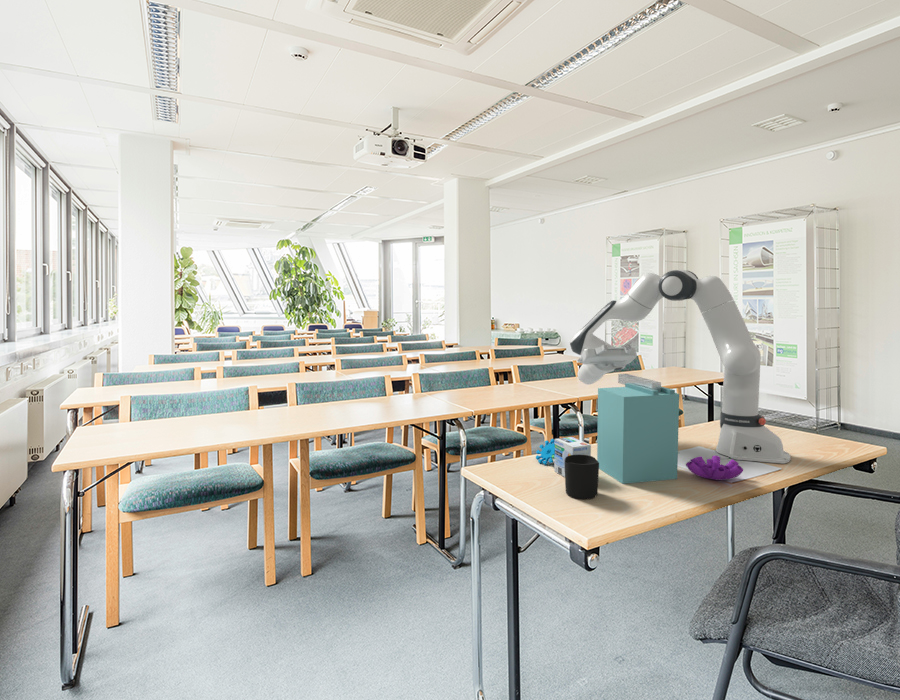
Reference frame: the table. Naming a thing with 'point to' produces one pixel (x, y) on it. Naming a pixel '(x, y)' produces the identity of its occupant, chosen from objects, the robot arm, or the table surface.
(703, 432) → the table surface
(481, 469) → the table surface
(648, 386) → the steel bar
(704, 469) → the purple curved piece
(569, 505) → the table surface
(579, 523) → the table surface
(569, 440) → the light bulb box
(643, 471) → the ridged teal block
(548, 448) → the gear
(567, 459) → the pen holder
